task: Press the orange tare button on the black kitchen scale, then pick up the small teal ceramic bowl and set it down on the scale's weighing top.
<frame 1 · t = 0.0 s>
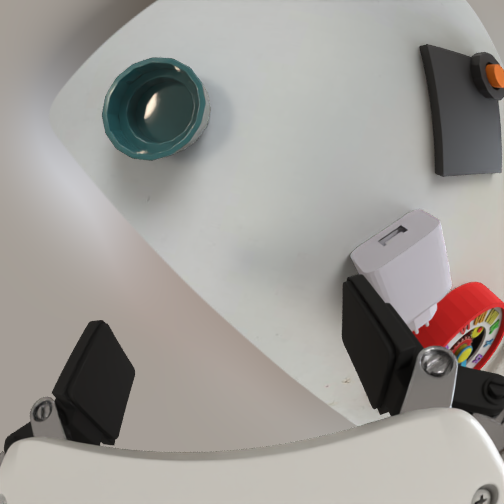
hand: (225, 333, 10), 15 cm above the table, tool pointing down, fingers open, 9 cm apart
bowl: (167, 111, 20), on the table
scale: (466, 112, 20), on the table
tare button: (496, 76, 15), point 3 cm above the table, slide at 0.1 cm
charger: (401, 279, 29), on the table
toy clock: (448, 334, 34), on the table
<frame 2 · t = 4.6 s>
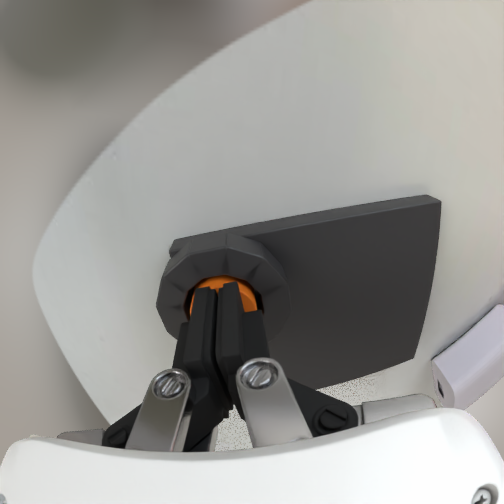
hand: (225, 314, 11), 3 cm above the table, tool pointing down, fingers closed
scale: (322, 309, 16), on the table
tare button: (223, 305, 12), point 3 cm above the table, slide at -0.7 cm, touching gripper
charger: (484, 333, 20), on the table
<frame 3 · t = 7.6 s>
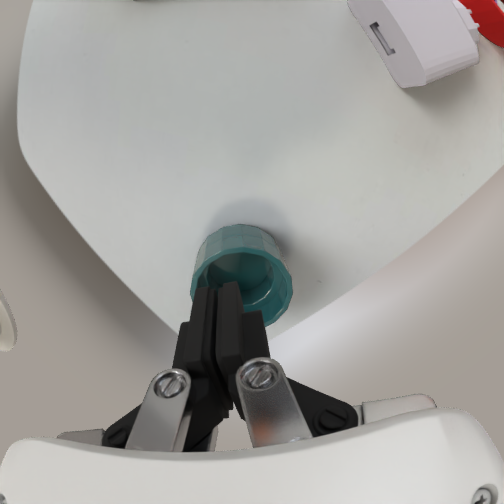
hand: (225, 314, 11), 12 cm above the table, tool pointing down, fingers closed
bowl: (239, 262, 24), on the table
charger: (423, 29, 15), on the table
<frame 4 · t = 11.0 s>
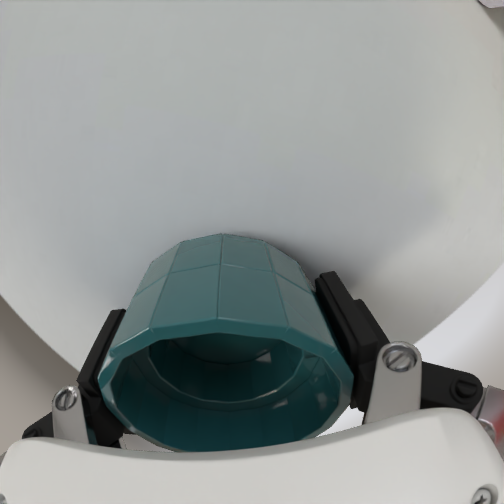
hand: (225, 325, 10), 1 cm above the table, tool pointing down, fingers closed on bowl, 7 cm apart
bowl: (225, 312, 11), on the table, touching gripper
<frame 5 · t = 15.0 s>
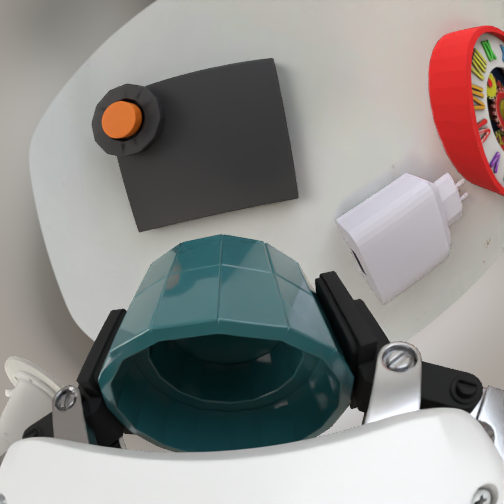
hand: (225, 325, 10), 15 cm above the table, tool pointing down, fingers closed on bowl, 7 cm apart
bowl: (225, 313, 11), point 14 cm above the table, touching gripper
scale: (201, 143, 21), on the table
tare button: (122, 119, 17), point 3 cm above the table, slide at 0.1 cm
charger: (406, 214, 25), on the table
toy clock: (482, 108, 20), on the table
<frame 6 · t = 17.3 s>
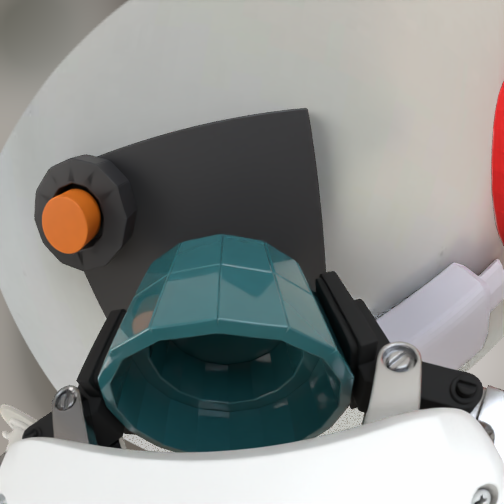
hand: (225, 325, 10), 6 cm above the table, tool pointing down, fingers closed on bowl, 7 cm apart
bowl: (225, 312, 11), point 5 cm above the table, touching gripper
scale: (193, 239, 15), on the table
tare button: (71, 220, 11), point 3 cm above the table, slide at 0.1 cm
charger: (443, 302, 20), on the table
when the fingers open (2 cm above the table, at t = 19.1 s): bowl stays where it is, resting on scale.
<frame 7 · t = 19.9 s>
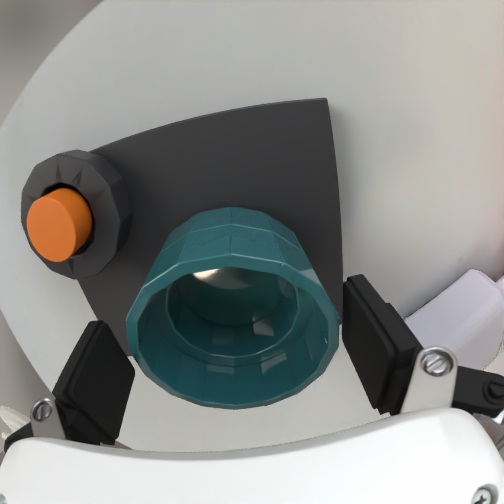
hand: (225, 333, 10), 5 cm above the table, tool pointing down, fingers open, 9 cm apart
bowl: (232, 277, 13), point 1 cm above the table, touching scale
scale: (197, 243, 14), on the table
tare button: (58, 224, 9), point 3 cm above the table, slide at 0.1 cm
charger: (458, 309, 18), on the table
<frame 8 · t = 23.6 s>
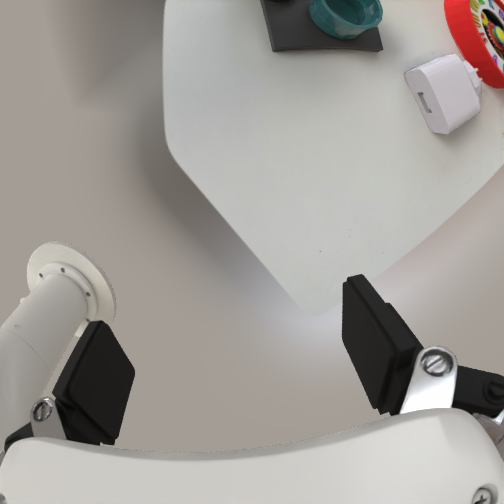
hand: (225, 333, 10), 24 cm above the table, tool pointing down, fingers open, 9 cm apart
bowl: (336, 15, 22), point 1 cm above the table, touching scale
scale: (319, 9, 22), on the table
charger: (445, 86, 27), on the table
toy clock: (481, 37, 21), on the table
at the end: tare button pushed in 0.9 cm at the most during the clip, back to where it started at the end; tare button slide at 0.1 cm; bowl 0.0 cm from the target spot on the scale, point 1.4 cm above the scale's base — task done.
